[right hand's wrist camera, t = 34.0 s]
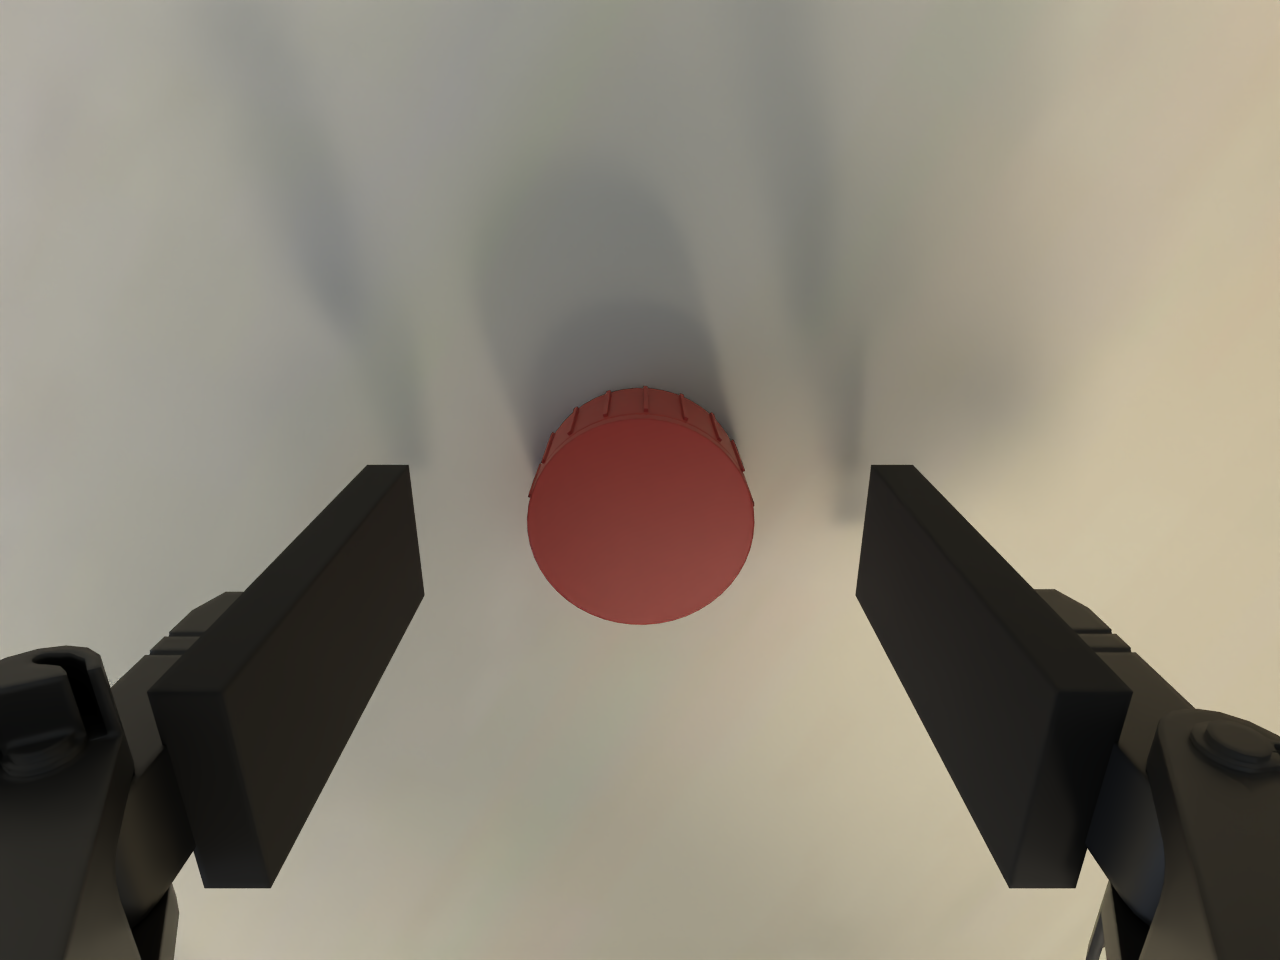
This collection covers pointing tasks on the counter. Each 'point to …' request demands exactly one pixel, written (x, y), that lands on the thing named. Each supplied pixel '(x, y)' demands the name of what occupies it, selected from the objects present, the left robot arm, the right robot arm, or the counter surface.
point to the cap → (640, 508)
